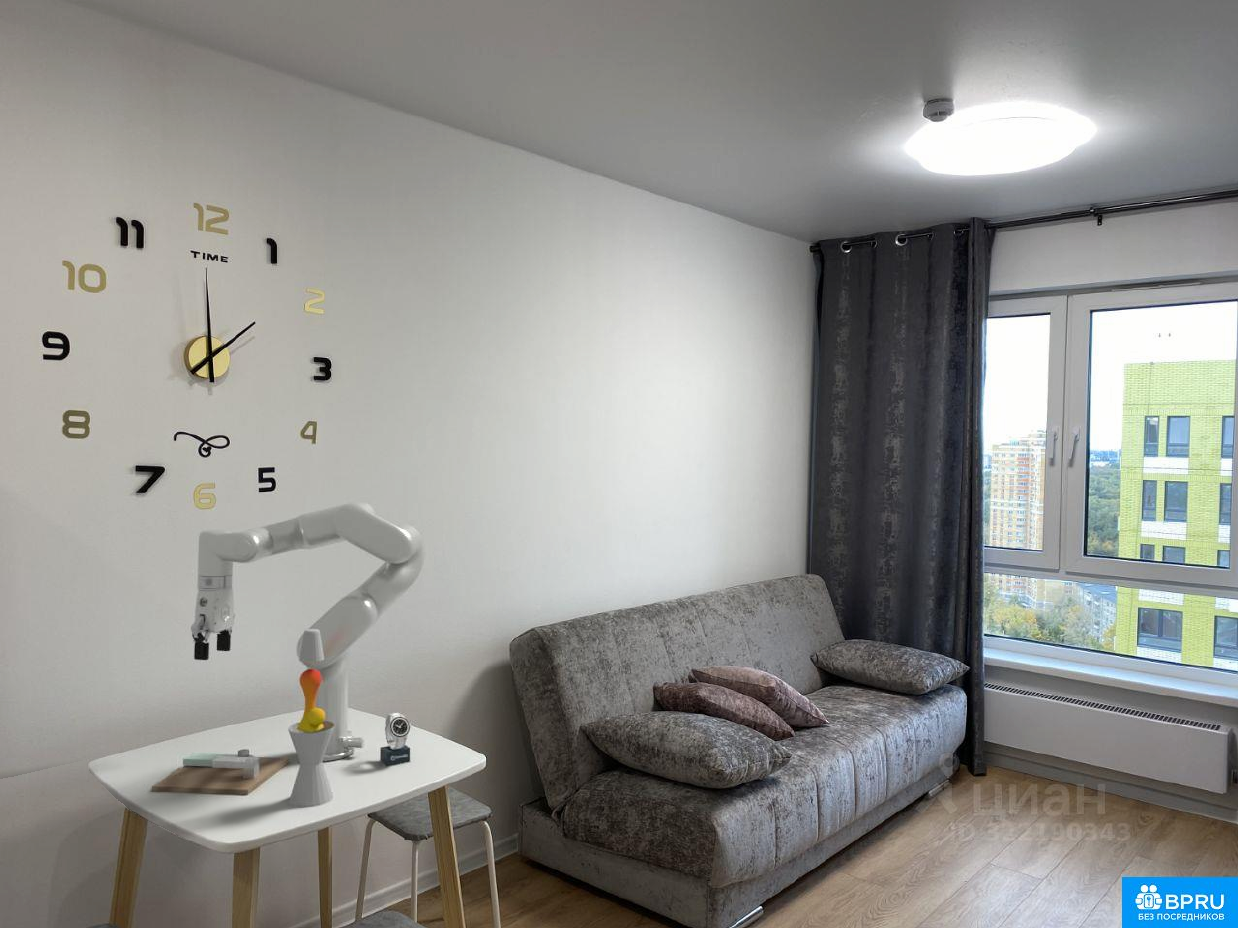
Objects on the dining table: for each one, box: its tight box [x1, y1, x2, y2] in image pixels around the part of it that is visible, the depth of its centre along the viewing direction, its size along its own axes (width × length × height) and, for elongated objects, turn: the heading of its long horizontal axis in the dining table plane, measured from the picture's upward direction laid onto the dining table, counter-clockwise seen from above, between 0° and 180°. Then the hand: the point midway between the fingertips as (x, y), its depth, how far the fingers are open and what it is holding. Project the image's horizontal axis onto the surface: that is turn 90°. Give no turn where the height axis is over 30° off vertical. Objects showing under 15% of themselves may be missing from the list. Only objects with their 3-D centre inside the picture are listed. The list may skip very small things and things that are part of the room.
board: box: [151, 748, 290, 795], centre depth 203 cm, size 21×20×4 cm
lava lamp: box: [287, 628, 334, 808], centre depth 190 cm, size 9×9×35 cm
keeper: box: [212, 756, 259, 779], centre depth 200 cm, size 9×3×4 cm, turn 86°
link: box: [182, 752, 255, 767], centre depth 207 cm, size 15×4×2 cm, turn 86°
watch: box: [379, 712, 412, 767], centre depth 213 cm, size 6×8×11 cm
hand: (212, 654), depth 216 cm, fingers open, 9 cm apart
